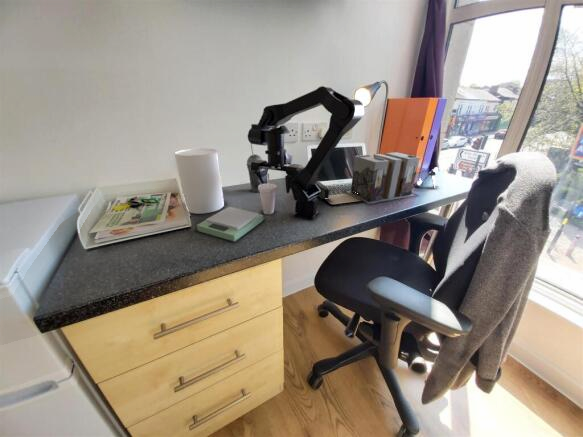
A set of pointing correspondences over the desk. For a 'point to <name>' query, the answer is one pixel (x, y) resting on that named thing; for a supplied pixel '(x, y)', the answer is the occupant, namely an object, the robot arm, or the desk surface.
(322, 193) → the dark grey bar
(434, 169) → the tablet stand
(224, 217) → the scale
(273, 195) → the smoothie
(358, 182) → the bookend
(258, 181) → the beverage cup
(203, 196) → the canister
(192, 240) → the desk surface
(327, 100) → the robot arm
